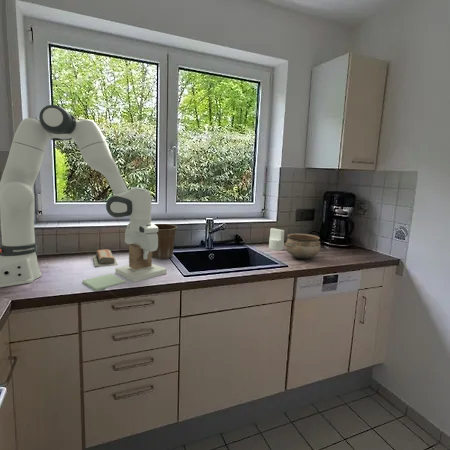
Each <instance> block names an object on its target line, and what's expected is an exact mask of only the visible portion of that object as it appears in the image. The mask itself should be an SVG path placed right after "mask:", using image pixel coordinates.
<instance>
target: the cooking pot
mask: <svg viewBox="0 0 450 450" xmlns="http://www.w3.org/2000/svg"><path fill="white" fill-rule="evenodd" d="M320 240H321V238H320V236H318V235H313V234H308V233H299V232H297V233H289V234H287V239H286V241H285V242H284V246H285V250H286V252H287V253H288V254H289V255H291V256H292V257H294V258H295V259H297V260H304V261H305V260H309V259H311V258H314V257H315V256H317V255H318V254H319V253H320V251H321V241H320Z"/></svg>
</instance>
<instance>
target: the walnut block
mask: <svg viewBox="0 0 450 450" xmlns="http://www.w3.org/2000/svg"><path fill="white" fill-rule="evenodd" d="M143 254H144V252H143V249H141V248H140V246H139V245H136V244H128V266H129V267H131V268H133V269H135V270H136V269H141V268H145V267H150V266H152V264H153V263H152V260H153V259H152V251H151V252H150V251H149V253H148V255H147V259H142V255H143Z"/></svg>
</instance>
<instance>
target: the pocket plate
mask: <svg viewBox="0 0 450 450" xmlns="http://www.w3.org/2000/svg"><path fill="white" fill-rule="evenodd" d="M114 269H115V274H117V275H119V276H121V277H124V278H126V279H128V280H129V281H131V282H139V281H143V280H147V279H151V278H154V277H155V278H156V277H158V276H161V275H165V274H166V275H167V268H166V267H162V266H159V265H157V264H154V263H152V266H150V267H145V268H141V269H136V270H135V269H133V268H131V267H129V265H125V266H120V267H115V268H114Z"/></svg>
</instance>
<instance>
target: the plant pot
mask: <svg viewBox="0 0 450 450" xmlns="http://www.w3.org/2000/svg"><path fill="white" fill-rule="evenodd" d="M153 224H154V225H156V226H157V227H158V232H156V233H157V235H158V248H157V250H156V251H152V258H153V259H161V260H166V259H170V258H172V257H173V255H174V246H175V236H176V232H177V230H176V229H177V228H178V226H177V225H174V224H168V223H153Z"/></svg>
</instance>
